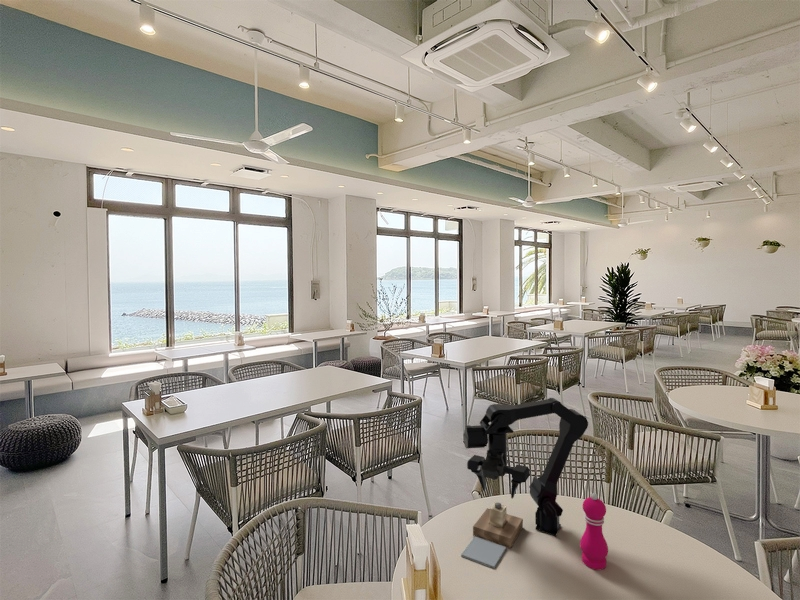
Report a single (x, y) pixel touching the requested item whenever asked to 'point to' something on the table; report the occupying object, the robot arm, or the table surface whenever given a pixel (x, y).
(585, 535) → the pepper mill
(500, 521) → the plug
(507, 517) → the socket block
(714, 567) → the table surface
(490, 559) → the mat
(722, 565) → the table surface
